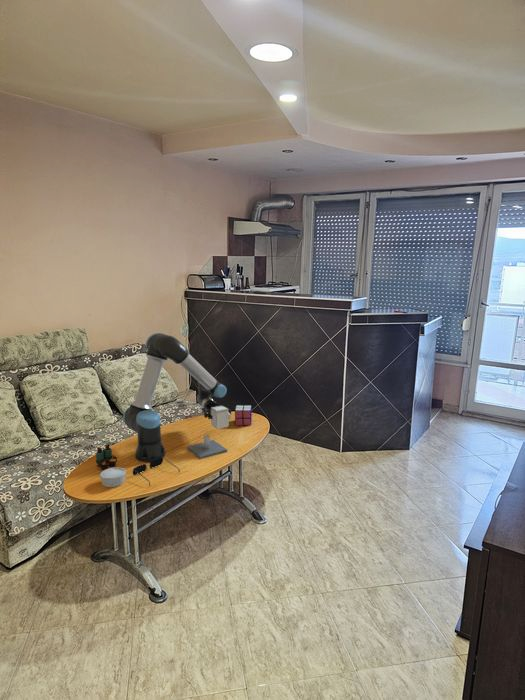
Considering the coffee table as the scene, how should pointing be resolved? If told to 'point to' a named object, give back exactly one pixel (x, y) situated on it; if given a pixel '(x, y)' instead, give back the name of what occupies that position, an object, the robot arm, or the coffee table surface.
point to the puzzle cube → (243, 415)
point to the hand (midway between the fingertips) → (222, 418)
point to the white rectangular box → (220, 417)
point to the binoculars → (105, 458)
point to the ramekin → (113, 476)
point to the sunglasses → (152, 464)
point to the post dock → (205, 451)
